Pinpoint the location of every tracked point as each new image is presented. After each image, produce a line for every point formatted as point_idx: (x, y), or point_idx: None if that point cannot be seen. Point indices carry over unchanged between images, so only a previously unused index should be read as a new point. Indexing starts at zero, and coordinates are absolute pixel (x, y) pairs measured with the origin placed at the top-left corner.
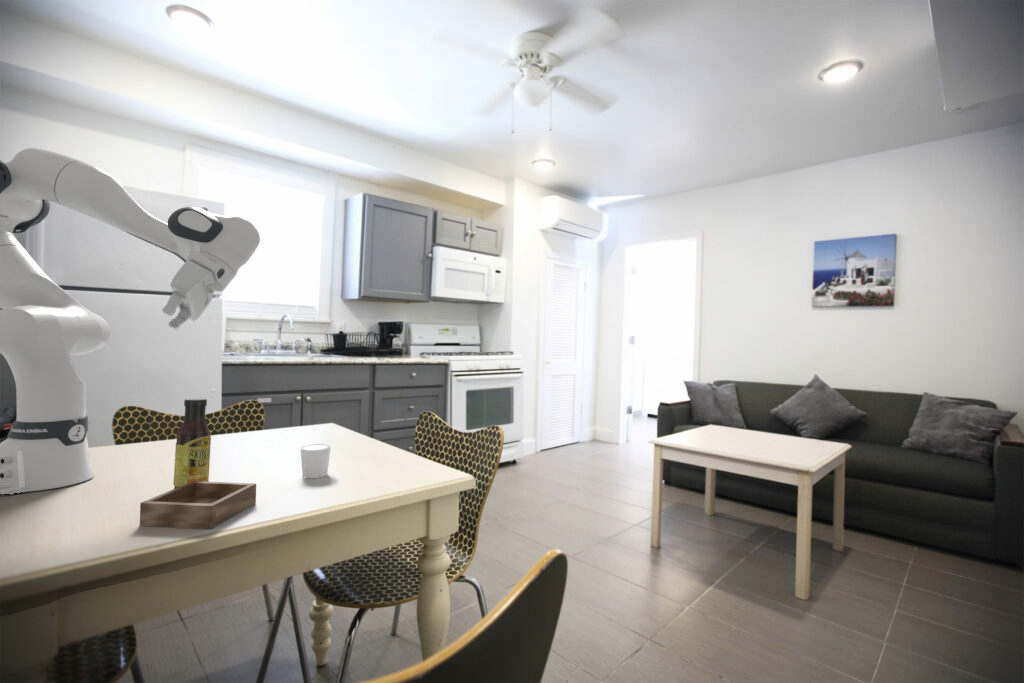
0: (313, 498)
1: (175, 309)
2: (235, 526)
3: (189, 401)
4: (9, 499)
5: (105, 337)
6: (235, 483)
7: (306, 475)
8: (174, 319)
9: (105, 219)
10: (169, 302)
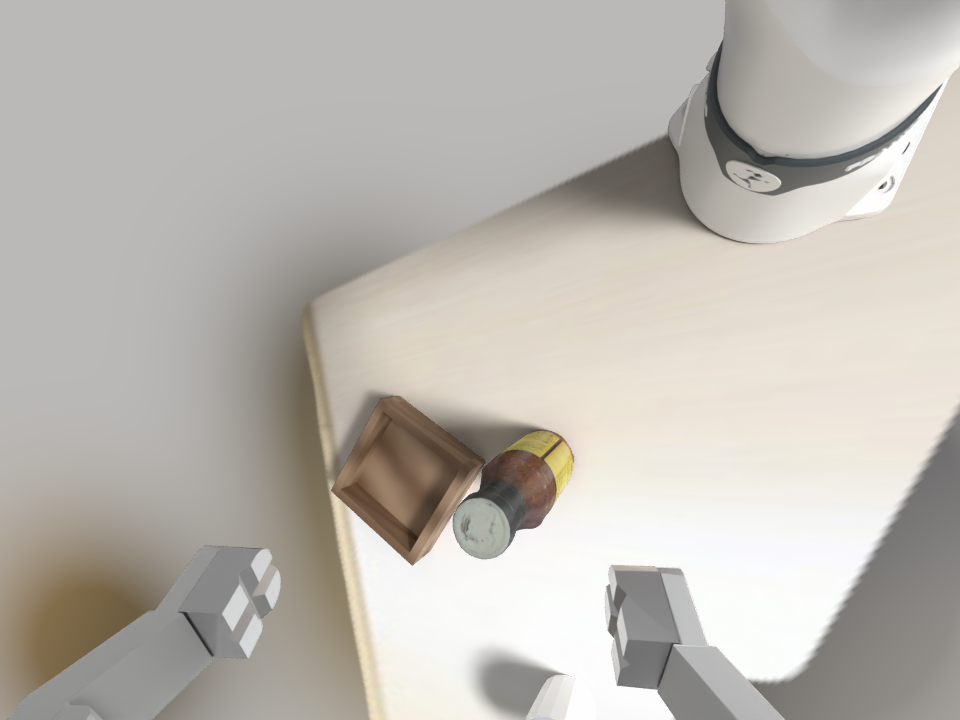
0: (418, 638)
1: (207, 653)
2: (350, 509)
3: (457, 508)
4: (637, 149)
5: None
6: (426, 534)
7: (548, 681)
8: (621, 648)
9: None
10: (125, 639)
